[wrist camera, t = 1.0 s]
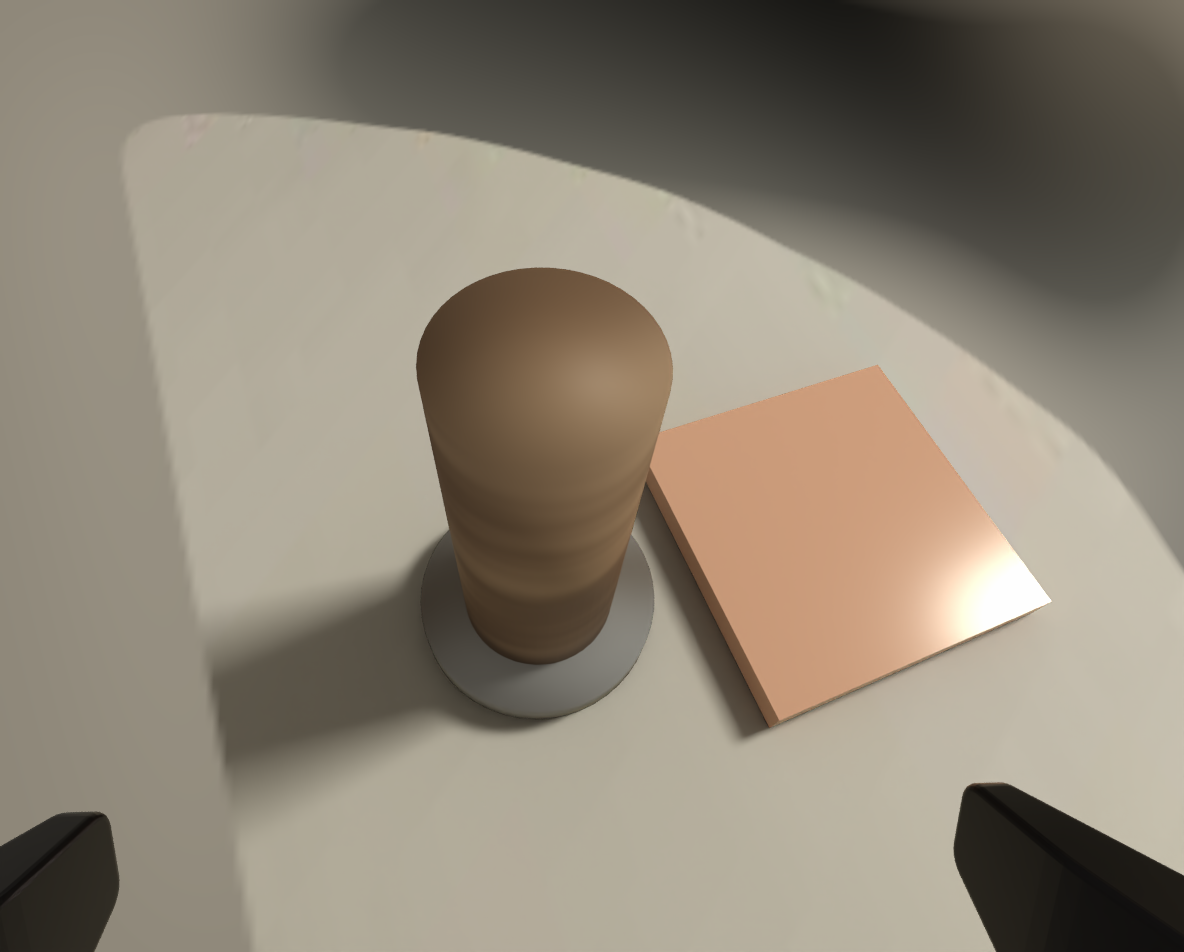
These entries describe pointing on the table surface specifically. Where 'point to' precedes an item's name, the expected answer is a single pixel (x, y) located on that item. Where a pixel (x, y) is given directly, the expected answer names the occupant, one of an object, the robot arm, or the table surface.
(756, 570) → the tile rest
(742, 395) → the table surface
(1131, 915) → the robot arm
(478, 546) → the tamper
